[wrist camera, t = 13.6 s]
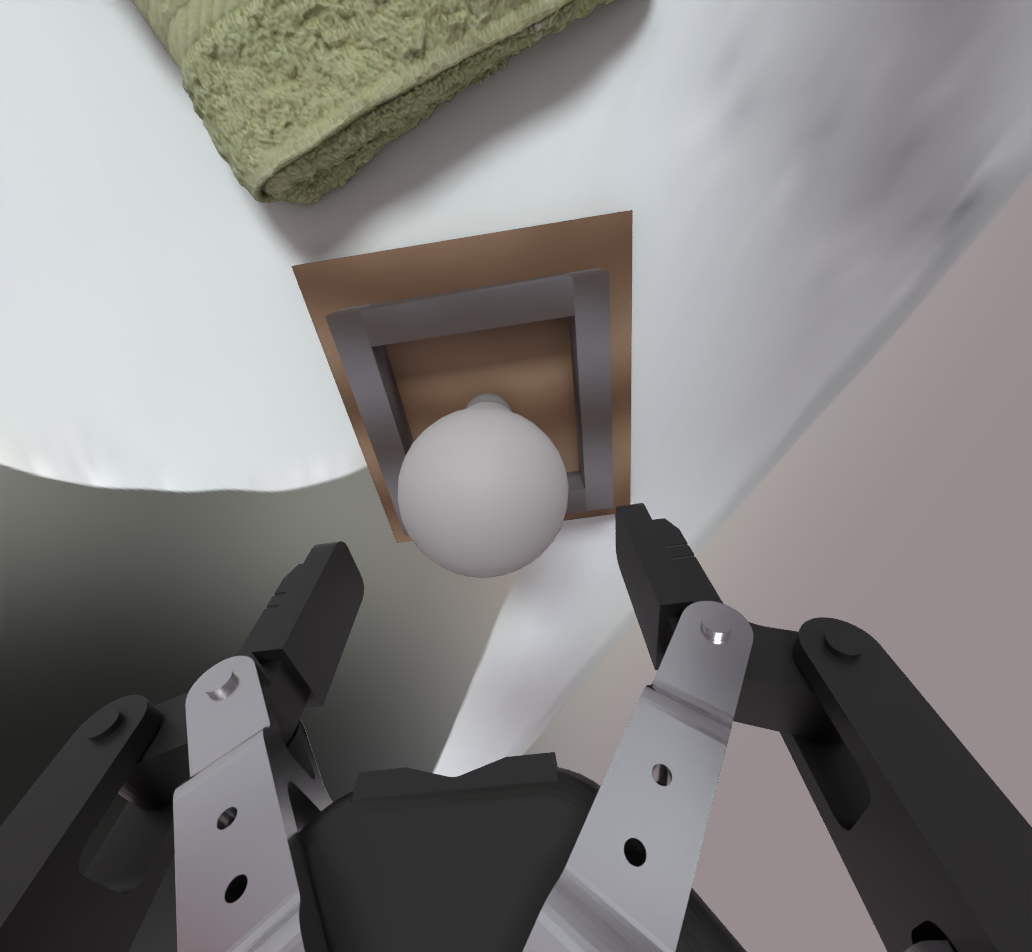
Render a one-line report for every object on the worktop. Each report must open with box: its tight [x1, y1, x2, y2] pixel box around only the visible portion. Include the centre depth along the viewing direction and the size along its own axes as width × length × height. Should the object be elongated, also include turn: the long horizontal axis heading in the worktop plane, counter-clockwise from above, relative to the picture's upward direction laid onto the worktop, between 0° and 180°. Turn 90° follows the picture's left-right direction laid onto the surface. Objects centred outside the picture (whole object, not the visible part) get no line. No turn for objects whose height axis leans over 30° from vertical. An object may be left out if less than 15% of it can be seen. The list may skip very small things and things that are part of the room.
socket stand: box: [292, 210, 632, 543], centre depth 21 cm, size 16×15×3 cm
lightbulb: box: [398, 393, 569, 578], centre depth 17 cm, size 6×6×11 cm
